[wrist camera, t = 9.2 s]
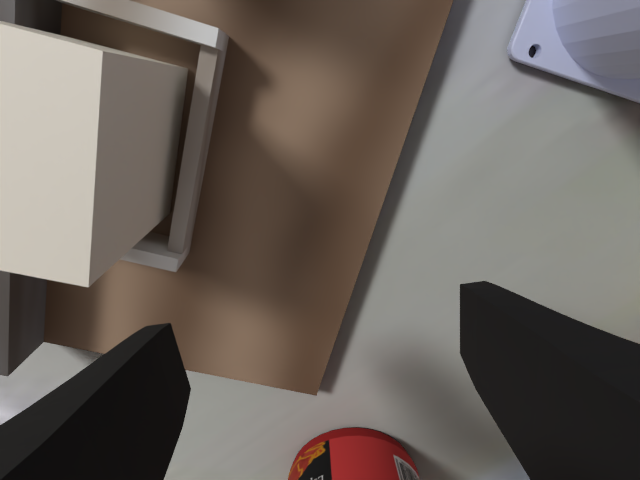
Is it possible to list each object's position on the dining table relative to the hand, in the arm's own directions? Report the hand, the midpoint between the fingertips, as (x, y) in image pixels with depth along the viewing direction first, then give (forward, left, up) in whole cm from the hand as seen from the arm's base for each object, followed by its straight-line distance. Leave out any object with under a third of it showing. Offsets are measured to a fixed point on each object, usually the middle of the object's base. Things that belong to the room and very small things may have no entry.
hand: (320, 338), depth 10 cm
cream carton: (+8, -2, -9) cm, 12 cm away
